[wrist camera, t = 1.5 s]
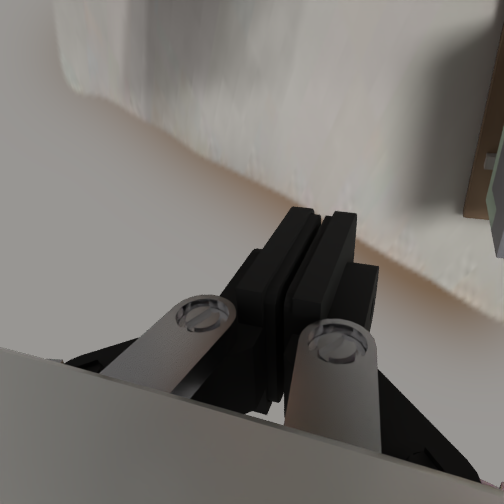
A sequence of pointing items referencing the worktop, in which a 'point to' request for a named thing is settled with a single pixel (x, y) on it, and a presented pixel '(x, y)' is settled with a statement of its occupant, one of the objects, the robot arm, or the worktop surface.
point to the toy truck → (497, 200)
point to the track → (487, 142)
